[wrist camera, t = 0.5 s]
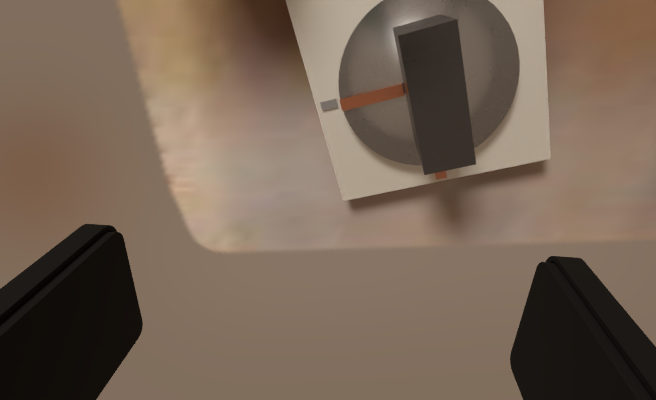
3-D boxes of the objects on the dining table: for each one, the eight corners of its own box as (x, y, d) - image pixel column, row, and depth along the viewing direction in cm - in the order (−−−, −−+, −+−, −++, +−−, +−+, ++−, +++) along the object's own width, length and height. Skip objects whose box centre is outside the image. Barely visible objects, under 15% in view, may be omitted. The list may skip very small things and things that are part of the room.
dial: (507, -43, 25) (551, -56, 19) (521, 140, 30) (560, 179, 24) (319, 14, 27) (304, 20, 21) (361, 175, 32) (358, 218, 26)
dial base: (527, -85, 26) (540, -92, 24) (540, 149, 32) (551, 159, 30) (288, -9, 29) (282, -9, 27) (344, 190, 35) (343, 202, 33)
